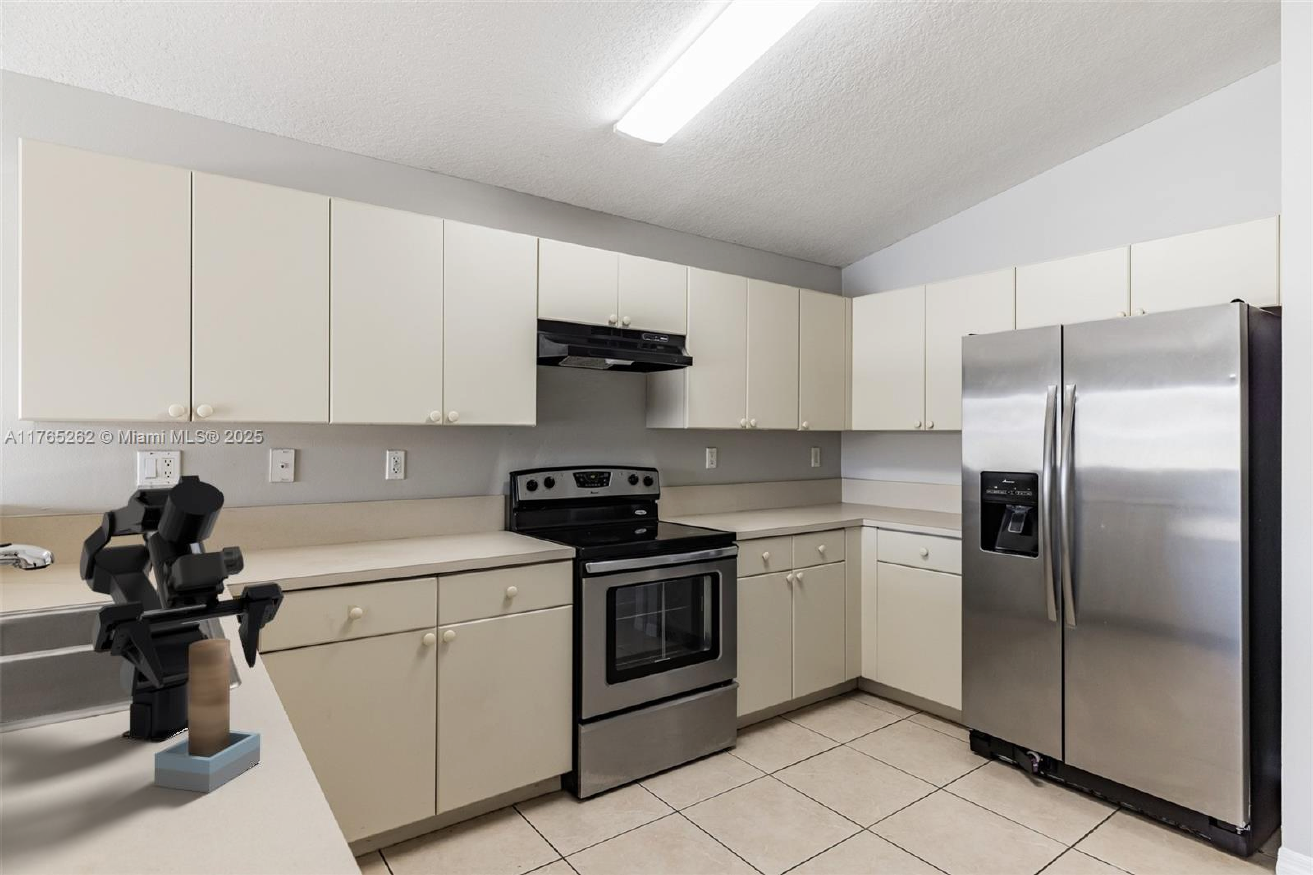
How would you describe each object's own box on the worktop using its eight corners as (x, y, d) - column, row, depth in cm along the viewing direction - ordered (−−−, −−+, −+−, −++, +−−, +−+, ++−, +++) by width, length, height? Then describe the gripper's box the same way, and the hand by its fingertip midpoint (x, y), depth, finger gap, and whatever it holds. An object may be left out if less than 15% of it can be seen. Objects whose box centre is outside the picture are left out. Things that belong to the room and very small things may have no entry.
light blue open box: (208, 756, 84) (209, 727, 84) (259, 762, 82) (260, 733, 82) (154, 785, 77) (154, 754, 77) (209, 793, 75) (209, 760, 75)
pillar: (192, 751, 81) (193, 640, 81) (232, 746, 82) (233, 637, 82) (184, 767, 77) (184, 650, 77) (225, 760, 79) (226, 646, 79)
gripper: (97, 534, 77) (119, 655, 69) (278, 519, 90) (313, 619, 83) (83, 594, 82) (102, 713, 74) (256, 572, 96) (287, 670, 88)
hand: (208, 675), depth 80 cm, fingers open, 9 cm apart
